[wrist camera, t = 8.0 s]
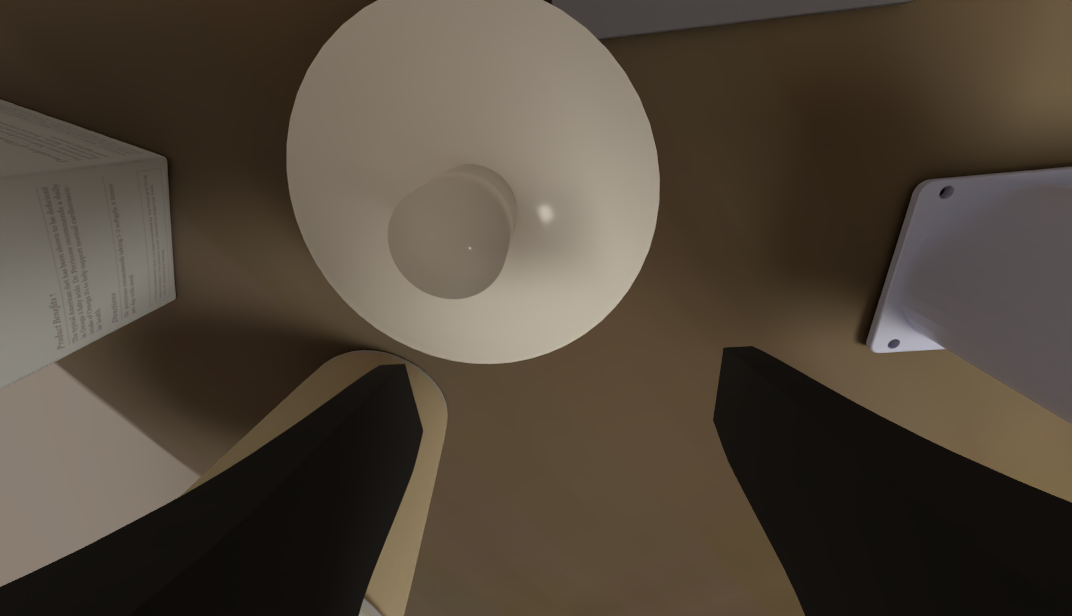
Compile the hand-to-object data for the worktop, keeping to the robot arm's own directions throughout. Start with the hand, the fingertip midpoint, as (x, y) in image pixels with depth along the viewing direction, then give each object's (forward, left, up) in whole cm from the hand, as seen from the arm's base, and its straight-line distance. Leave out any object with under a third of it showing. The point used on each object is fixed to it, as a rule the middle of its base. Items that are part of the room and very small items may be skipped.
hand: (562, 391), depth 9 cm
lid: (+2, -3, -6) cm, 7 cm away
